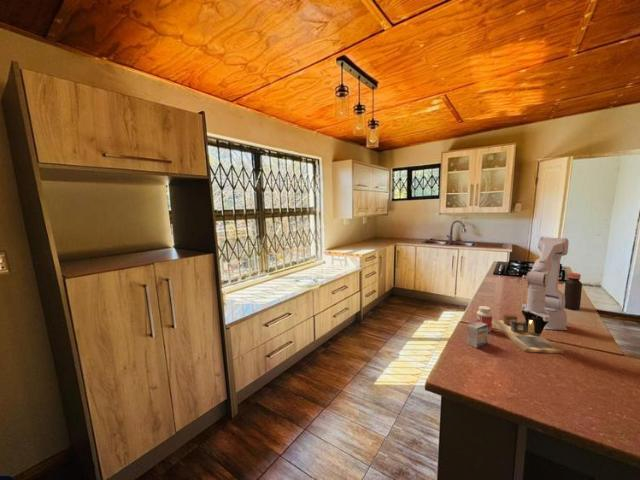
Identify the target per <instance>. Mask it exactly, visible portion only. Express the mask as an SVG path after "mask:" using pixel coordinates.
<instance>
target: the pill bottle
mask: <svg viewBox="0 0 640 480" xmlns="http://www.w3.org/2000/svg"><path fill="white" fill-rule="evenodd" d="M492 320H493V313H492V312H491V307H490V306H485V305H480V306H478V311H476V322H482V323H485V324H487V325H488V333H490V332H491V331H492V326H493V324H492Z"/></svg>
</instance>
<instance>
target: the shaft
mask: <svg viewBox="0 0 640 480" xmlns="http://www.w3.org/2000/svg"><path fill="white" fill-rule="evenodd" d="M503 320H504V322H503V323H504V324H506V325H511V321H516V322H518V321H519V320H518V316H517V315H515V314H504V315H503ZM517 330H523V325H517Z"/></svg>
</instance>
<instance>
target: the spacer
mask: <svg viewBox="0 0 640 480" xmlns="http://www.w3.org/2000/svg"><path fill="white" fill-rule="evenodd" d="M527 333H528V334H530V335H533V336H542V333H541V334H536V333H535V332H534V323H533V320H532V318H529V321H528V331H527Z"/></svg>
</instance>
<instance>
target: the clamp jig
mask: <svg viewBox="0 0 640 480" xmlns="http://www.w3.org/2000/svg"><path fill="white" fill-rule="evenodd" d="M517 321H518V322H516V321H511V325H506V324H504V323H503V322H504V319H502V320H501V319H500V320H499V319H498V320H497V319H492V326H494V327H495V328H497V329H498V330H499V331H500V332H501V333H502V334H503V335H505V336H506V337H507V338H508V339H509V340H510V341H511V342H513V343H514V344H515V345H517V346H518V347H519V348H520V349H521V350H522V351H523V352H528V353H547V354H548V353H549V354H550V353H551V354H564V349H562V348H560V347H559V346H557V345H556V344H554V343H553V342H551V341H550V340H549V339H547V338H546V337H544V336H543V335H541V336H533V335H530V334H528V333H527V331H528V328H527V325H526V321H521V320H517ZM517 325H523V330H517Z"/></svg>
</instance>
